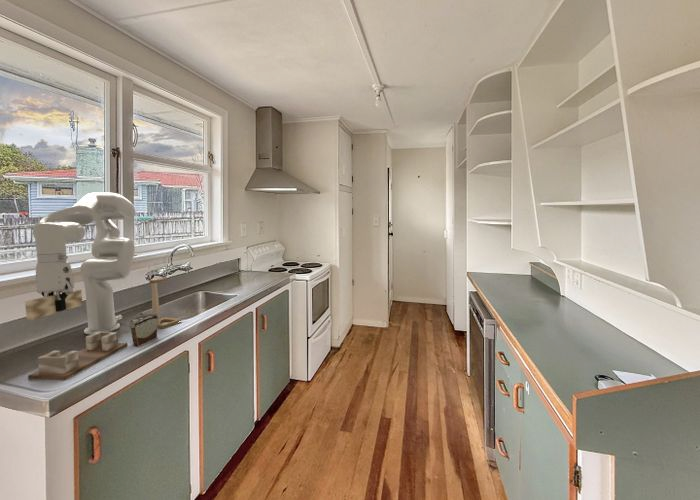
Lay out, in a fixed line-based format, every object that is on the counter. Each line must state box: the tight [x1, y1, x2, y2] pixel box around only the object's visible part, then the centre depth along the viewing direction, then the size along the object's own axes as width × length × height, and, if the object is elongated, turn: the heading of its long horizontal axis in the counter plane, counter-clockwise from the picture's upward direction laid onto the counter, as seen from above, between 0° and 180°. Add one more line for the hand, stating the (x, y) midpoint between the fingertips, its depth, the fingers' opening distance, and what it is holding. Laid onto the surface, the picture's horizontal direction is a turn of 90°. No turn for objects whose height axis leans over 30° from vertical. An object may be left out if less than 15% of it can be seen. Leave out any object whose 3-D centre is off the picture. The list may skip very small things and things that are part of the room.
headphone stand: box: [148, 276, 182, 330], centre depth 150 cm, size 10×11×22 cm
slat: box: [24, 289, 83, 321], centre depth 114 cm, size 18×2×6 cm, turn 176°
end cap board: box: [27, 331, 128, 381], centre depth 113 cm, size 26×12×6 cm, turn 177°
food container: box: [127, 313, 159, 348], centre depth 130 cm, size 12×6×10 cm, turn 168°
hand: (56, 310), depth 114 cm, fingers closed on slat, 2 cm apart
